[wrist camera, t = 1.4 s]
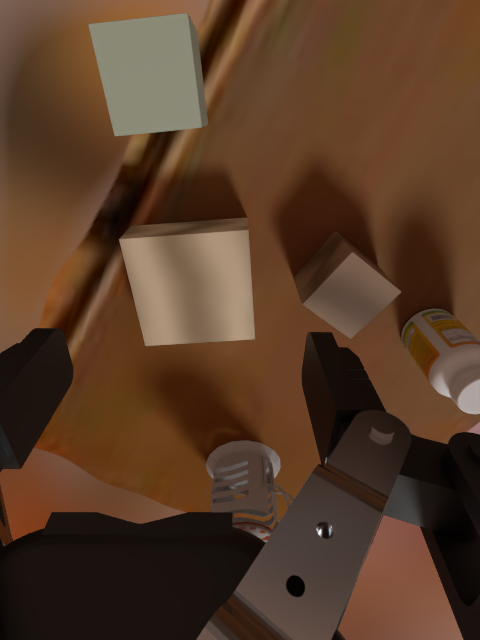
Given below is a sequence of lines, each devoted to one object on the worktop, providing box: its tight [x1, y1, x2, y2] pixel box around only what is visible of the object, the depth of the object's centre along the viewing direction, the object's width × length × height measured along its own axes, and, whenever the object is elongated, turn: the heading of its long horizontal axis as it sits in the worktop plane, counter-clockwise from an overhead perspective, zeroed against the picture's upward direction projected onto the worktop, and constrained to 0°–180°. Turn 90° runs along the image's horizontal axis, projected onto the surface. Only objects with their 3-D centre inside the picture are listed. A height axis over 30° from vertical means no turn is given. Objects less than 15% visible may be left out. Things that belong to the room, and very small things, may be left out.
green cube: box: [88, 13, 208, 136], centre depth 23 cm, size 6×6×6 cm
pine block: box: [119, 218, 255, 346], centre depth 32 cm, size 10×10×4 cm
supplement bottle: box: [401, 309, 480, 414], centre depth 32 cm, size 5×5×10 cm
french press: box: [206, 440, 294, 542], centre depth 36 cm, size 10×12×25 cm
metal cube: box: [293, 231, 401, 339], centre depth 31 cm, size 6×6×6 cm
